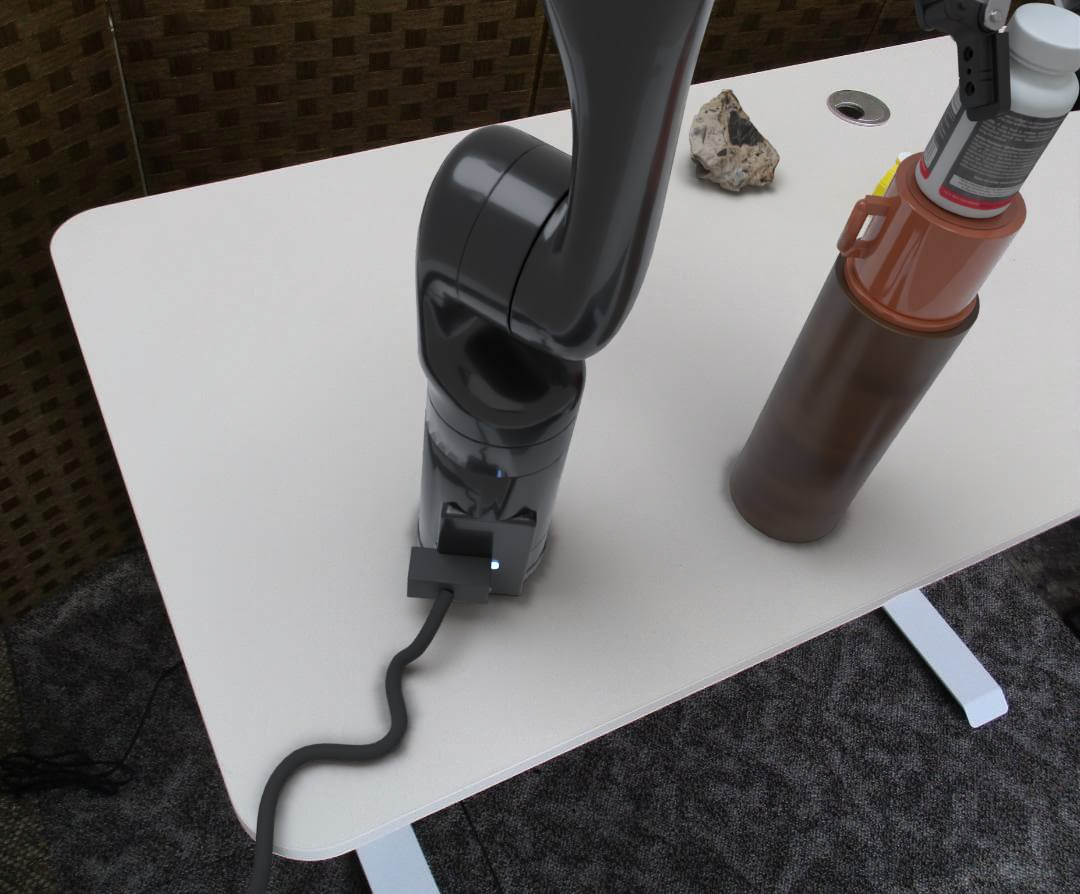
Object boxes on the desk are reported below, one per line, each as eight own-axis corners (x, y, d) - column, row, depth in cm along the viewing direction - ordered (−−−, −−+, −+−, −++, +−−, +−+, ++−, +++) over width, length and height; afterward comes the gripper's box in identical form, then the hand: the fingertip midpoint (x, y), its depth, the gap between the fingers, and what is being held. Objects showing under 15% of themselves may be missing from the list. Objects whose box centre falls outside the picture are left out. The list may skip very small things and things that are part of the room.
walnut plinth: (848, 548, 76) (996, 346, 58) (734, 537, 76) (847, 329, 57) (831, 454, 82) (961, 242, 63) (725, 443, 81) (825, 225, 63)
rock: (752, 122, 106) (698, 74, 99) (804, 134, 101) (751, 83, 94) (713, 198, 107) (657, 155, 100) (762, 213, 102) (707, 169, 95)
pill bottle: (1027, 205, 55) (1135, 42, 47) (964, 233, 52) (1066, 67, 45) (956, 148, 57) (1047, -16, 49) (892, 173, 55) (977, 5, 47)
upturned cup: (986, 339, 58) (1051, 248, 53) (832, 321, 57) (881, 227, 52) (956, 247, 63) (1012, 154, 57) (813, 229, 62) (856, 134, 57)
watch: (877, 225, 100) (901, 177, 96) (857, 209, 102) (880, 161, 97) (914, 207, 103) (940, 160, 98) (895, 191, 104) (919, 144, 100)
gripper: (954, -322, 40) (974, 112, 43) (1219, -309, 44) (1220, 87, 47) (843, -229, 47) (867, 139, 50) (1081, -225, 51) (1089, 115, 54)
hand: (1038, 112), depth 49 cm, fingers closed on pill bottle, 5 cm apart
